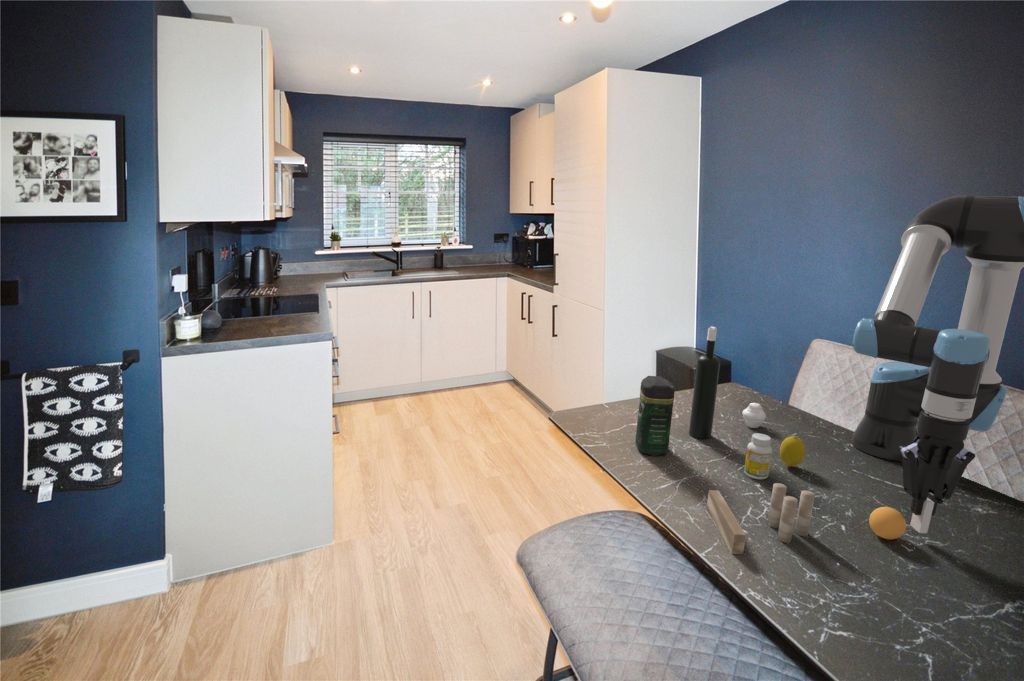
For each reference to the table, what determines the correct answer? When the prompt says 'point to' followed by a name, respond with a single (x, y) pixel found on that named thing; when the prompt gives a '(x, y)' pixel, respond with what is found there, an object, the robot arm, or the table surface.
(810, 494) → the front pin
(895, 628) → the table surface
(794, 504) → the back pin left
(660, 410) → the coffee jar
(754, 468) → the supplement bottle
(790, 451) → the lemon
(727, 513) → the back wall
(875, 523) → the ball
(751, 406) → the white tapered rounded part
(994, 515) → the table surface
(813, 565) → the table surface
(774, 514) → the back pin right
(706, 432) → the wine bottle
